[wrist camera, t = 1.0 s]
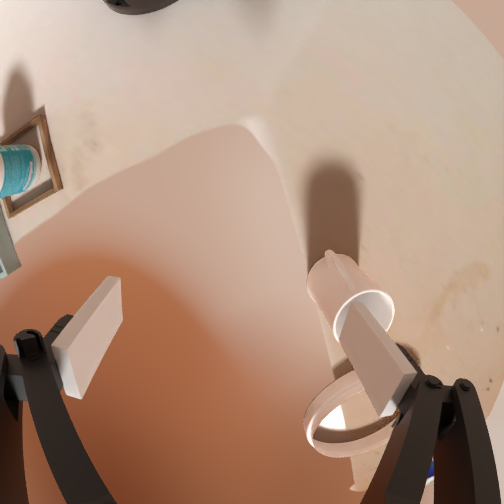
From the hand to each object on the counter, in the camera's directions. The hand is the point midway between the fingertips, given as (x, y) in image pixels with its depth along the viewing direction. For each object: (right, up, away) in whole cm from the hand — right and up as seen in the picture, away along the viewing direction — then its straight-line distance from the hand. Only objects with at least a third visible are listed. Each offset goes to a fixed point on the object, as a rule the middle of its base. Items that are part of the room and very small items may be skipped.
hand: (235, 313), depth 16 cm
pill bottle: (-34, +16, +18) cm, 42 cm away
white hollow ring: (+25, -30, +38) cm, 55 cm away
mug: (+12, +1, +27) cm, 30 cm away
